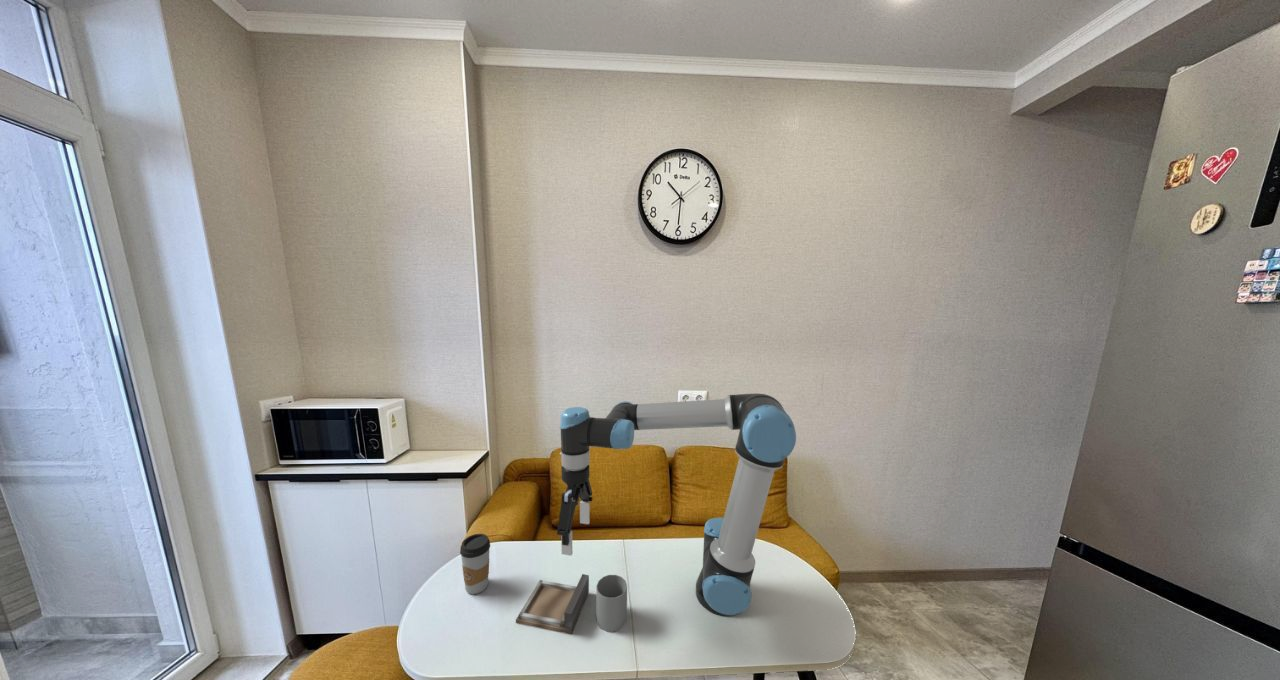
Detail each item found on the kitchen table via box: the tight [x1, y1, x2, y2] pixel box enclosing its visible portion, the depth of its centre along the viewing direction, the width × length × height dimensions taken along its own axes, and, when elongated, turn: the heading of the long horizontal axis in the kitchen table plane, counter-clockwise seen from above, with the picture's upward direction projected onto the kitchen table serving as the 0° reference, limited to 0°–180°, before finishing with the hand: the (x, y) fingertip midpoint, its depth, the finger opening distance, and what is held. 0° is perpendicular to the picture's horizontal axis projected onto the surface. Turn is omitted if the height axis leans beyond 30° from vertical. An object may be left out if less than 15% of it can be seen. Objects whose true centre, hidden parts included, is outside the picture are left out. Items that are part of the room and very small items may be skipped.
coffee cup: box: [459, 533, 491, 595], centre depth 114 cm, size 8×8×15 cm
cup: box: [595, 574, 628, 633], centre depth 104 cm, size 8×8×10 cm
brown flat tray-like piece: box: [515, 573, 590, 635], centre depth 108 cm, size 16×14×6 cm
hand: (576, 537), depth 105 cm, fingers open, 13 cm apart
